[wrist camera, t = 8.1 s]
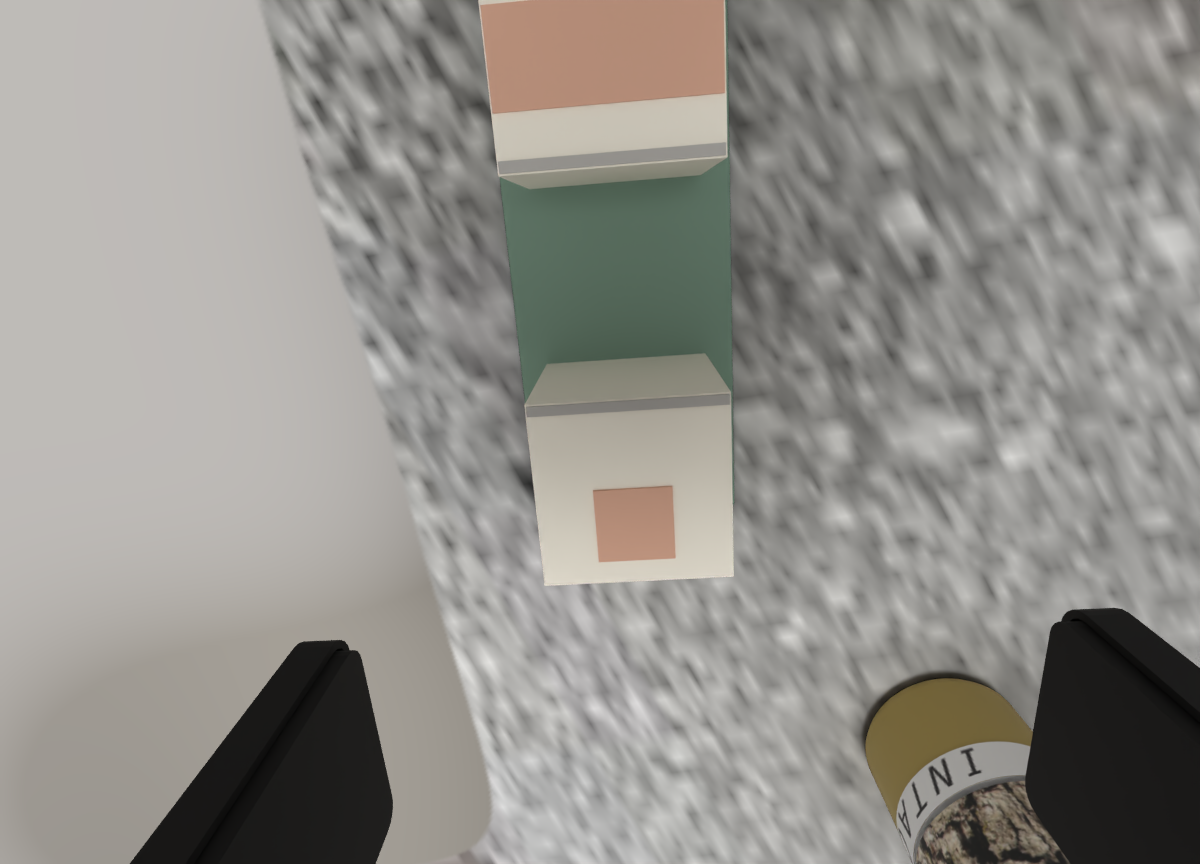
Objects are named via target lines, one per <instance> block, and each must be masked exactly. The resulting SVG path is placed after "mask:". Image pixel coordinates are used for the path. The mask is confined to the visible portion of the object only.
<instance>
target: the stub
mask: <svg viewBox="0 0 1200 864" xmlns="http://www.w3.org/2000/svg"><path fill="white" fill-rule="evenodd" d="M524 407H525V416H526V425H527V434H528V443H529V451H530V460H531V469H532V478H533V487H534V495H535V504H536V513H537V522H538V531H539V539H540V548H541V557H542V566H543V575H544V583H545V586H554V585H574V584H594V583H614V582H635V581H655V580H675V579H696V578H716V577H734V561H733V494H732V426H731V391H730V390H729V388H728V387H727V385H726V384H725V382H724V381H723V379H722V378H721V376H720V375H719V373H718V372H717V370H716V369H715V367H714V366H713V364H712V363H711V361H710V360H709V358H708V357H707V355H706V354H705V353H702V354H687V355H672V356H658V357H643V358H628V359H613V360H598V361H584V362H569V363H554V364H547V365H546V367H545V368H544V370H543V372H542V374H541V376H540V377H539V379H538V381H537V383H536V385H535V387H534V388H533V390H532V392H531V394H530V396H529V397H528V399H527V401H526V403H525V405H524Z"/></svg>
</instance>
